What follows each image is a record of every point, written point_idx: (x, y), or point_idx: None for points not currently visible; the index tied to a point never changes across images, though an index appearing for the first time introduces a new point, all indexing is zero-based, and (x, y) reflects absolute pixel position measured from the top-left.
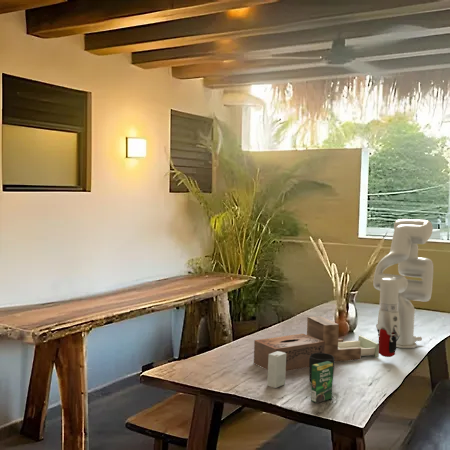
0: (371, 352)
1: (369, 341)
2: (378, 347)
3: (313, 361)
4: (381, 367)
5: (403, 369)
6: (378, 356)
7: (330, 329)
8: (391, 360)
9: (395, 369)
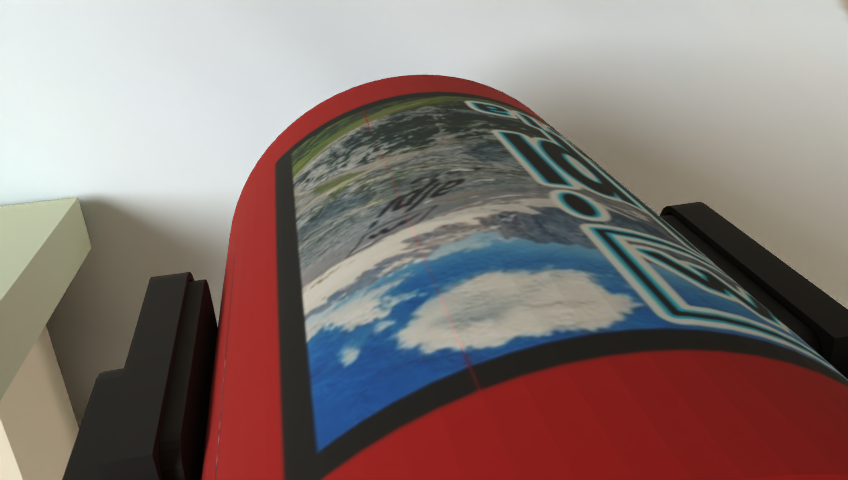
0: (33, 371)
1: None
2: (17, 306)
3: None
4: None
5: (795, 82)
6: (74, 205)
7: None
8: (274, 14)
9: (748, 212)
